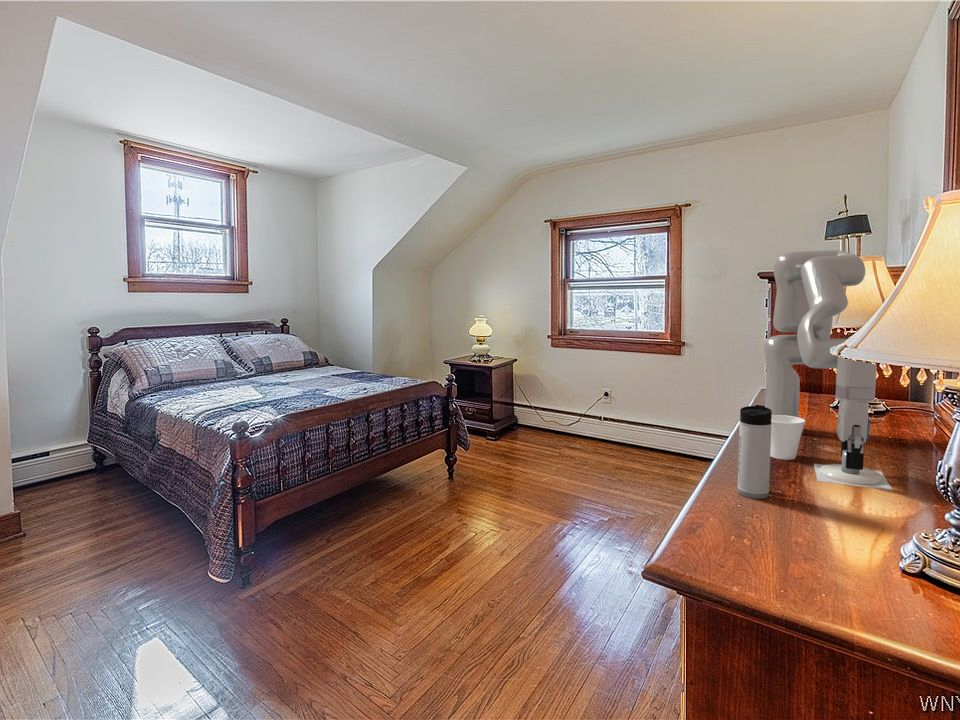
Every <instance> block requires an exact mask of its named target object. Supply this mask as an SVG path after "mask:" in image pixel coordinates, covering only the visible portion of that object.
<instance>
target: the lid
mask: <svg viewBox="0 0 960 720" xmlns="http://www.w3.org/2000/svg"><path fill="white" fill-rule="evenodd" d="M846 451H848V450H843V451H842V457H841V463H830V464H829V463H828V464H822V465H823V466H821V468H820V473H821V474H822V475H823V476H825V477H827V478H830V479H833V480H836V481H840V482H845V483H851V484H860V485H873V484H878V483H881V482H882V475H881V474H879V473H878V472H876V471H877V470H874V471H873V469H869V468H867V467H863V470H856V469H848V468H846Z"/></svg>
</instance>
